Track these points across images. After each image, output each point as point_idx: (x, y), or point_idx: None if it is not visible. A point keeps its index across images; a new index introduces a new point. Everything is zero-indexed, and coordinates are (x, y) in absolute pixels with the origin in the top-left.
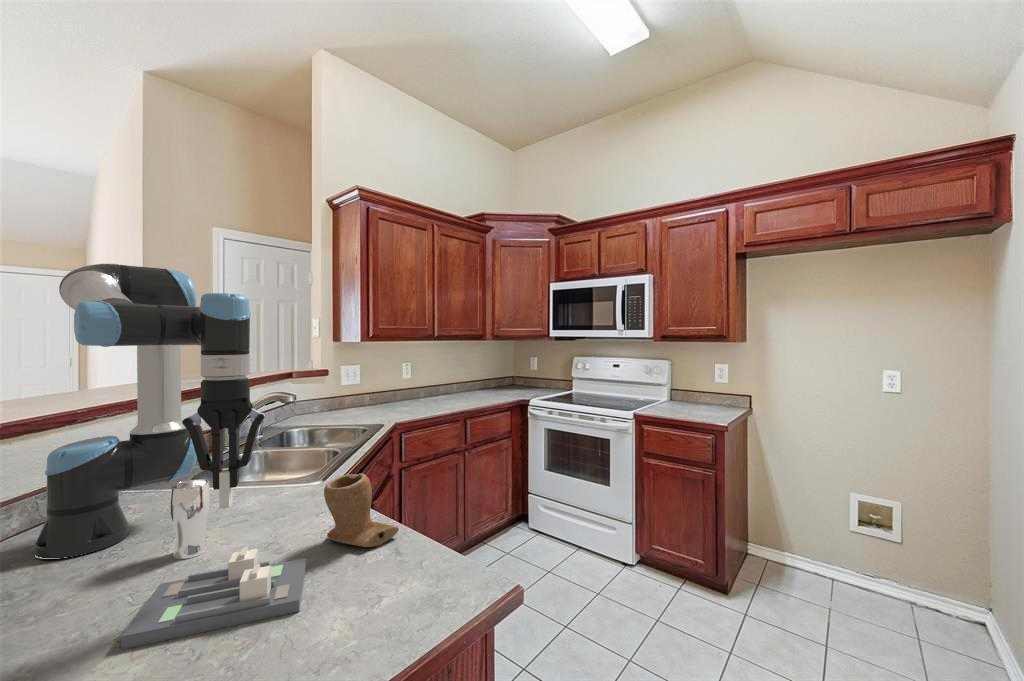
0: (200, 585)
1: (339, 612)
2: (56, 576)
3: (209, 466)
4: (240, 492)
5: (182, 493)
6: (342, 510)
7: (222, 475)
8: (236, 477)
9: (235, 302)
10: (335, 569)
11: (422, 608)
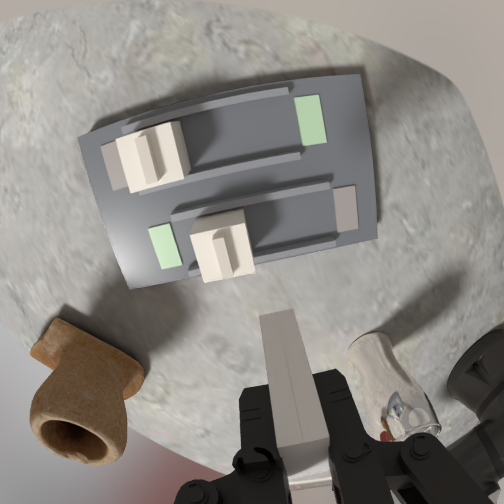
0: (302, 217)
1: (30, 132)
2: (491, 298)
3: (393, 461)
4: None
5: (421, 419)
6: (73, 379)
7: (309, 426)
8: (244, 428)
9: None
10: (81, 265)
11: None
